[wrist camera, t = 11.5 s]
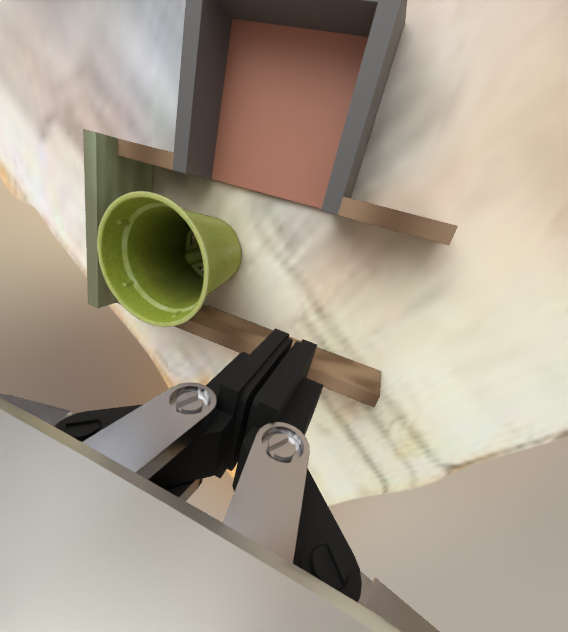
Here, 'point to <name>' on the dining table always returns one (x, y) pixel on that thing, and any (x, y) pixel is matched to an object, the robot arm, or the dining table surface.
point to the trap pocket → (283, 92)
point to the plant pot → (163, 257)
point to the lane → (222, 328)
